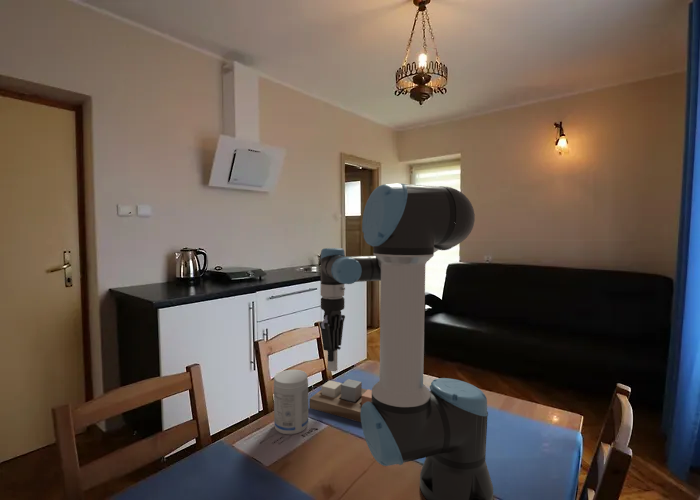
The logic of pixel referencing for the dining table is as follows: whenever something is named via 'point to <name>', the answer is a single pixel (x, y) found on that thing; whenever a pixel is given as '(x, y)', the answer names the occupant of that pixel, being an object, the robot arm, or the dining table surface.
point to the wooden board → (337, 406)
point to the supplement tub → (290, 401)
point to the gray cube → (351, 390)
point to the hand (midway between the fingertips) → (332, 370)
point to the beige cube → (331, 389)
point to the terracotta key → (367, 397)
